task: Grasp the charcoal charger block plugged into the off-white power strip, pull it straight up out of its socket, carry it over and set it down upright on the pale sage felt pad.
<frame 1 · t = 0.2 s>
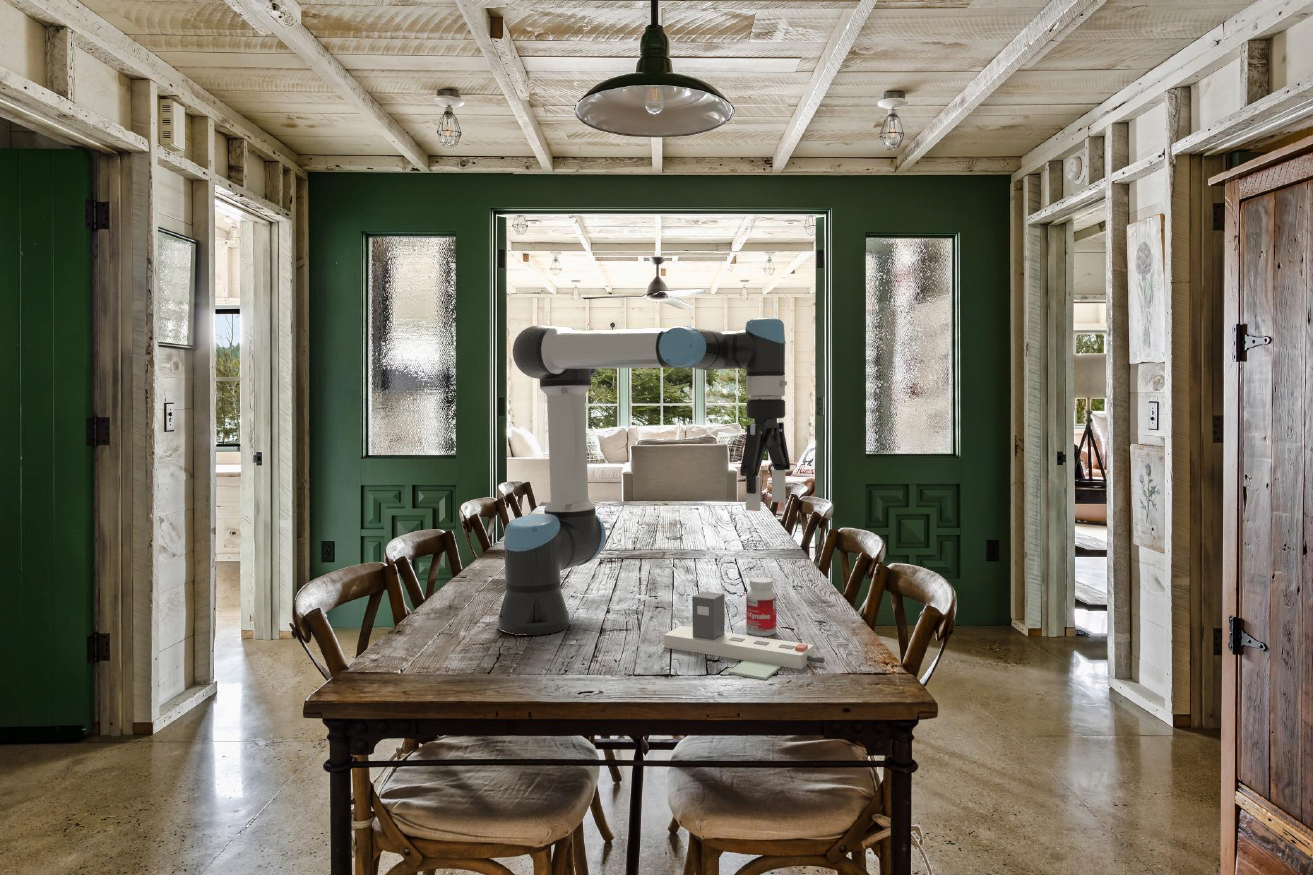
hand: (766, 506, 161), 27 cm above the table, fingers open, 13 cm apart
charger: (708, 635, 159), point 2 cm above the table, touching power strip
pill bottle: (761, 633, 169), on the table
felt pad: (754, 670, 146), on the table
power strip: (737, 652, 156), on the table
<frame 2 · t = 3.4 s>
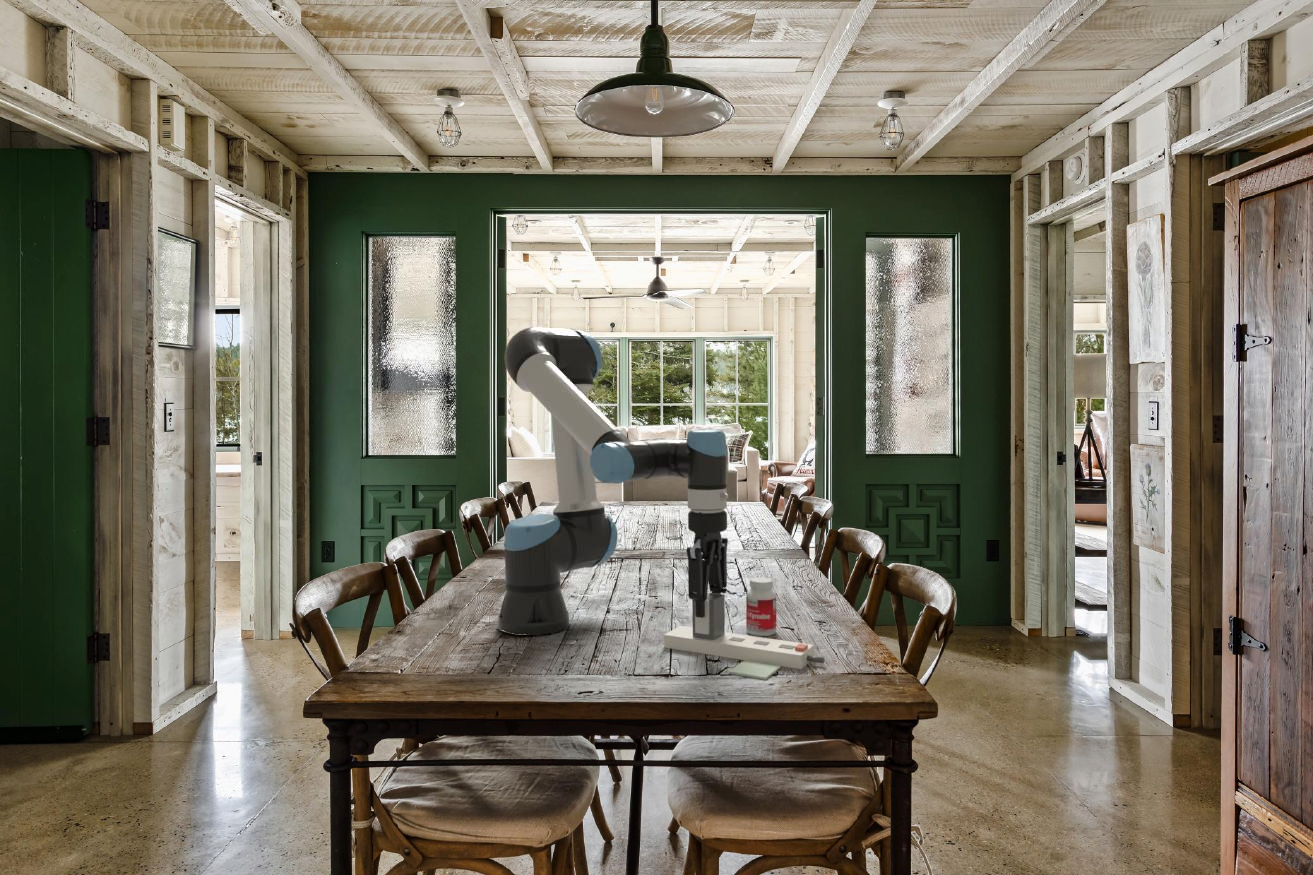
hand: (708, 629, 159), 4 cm above the table, fingers closed on charger, 5 cm apart
charger: (708, 637, 159), point 2 cm above the table, touching gripper, power strip
everything else where it was.
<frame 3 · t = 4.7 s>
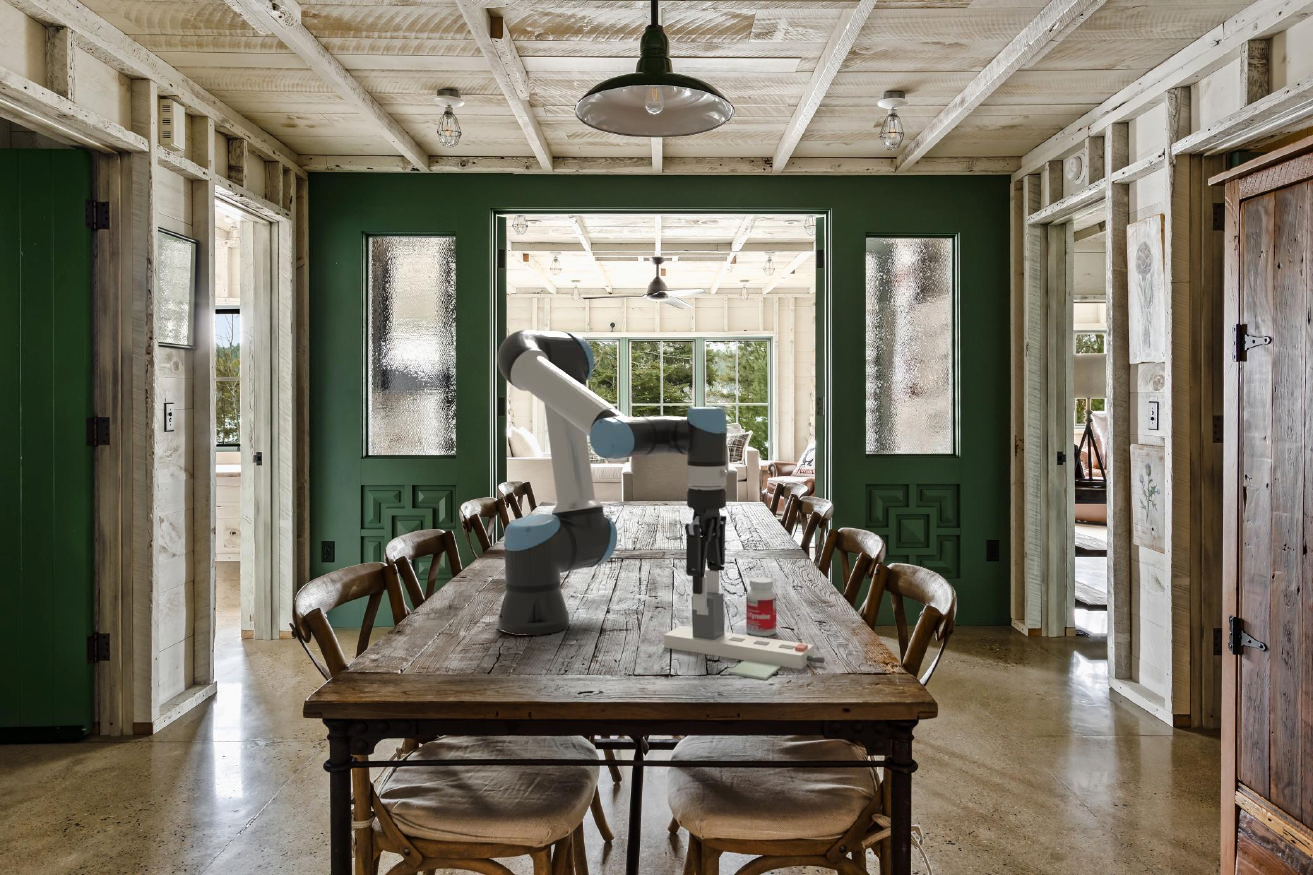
hand: (705, 606, 159), 8 cm above the table, fingers closed on charger, 5 cm apart
charger: (708, 635, 159), point 2 cm above the table, touching gripper, power strip
everything else where it was.
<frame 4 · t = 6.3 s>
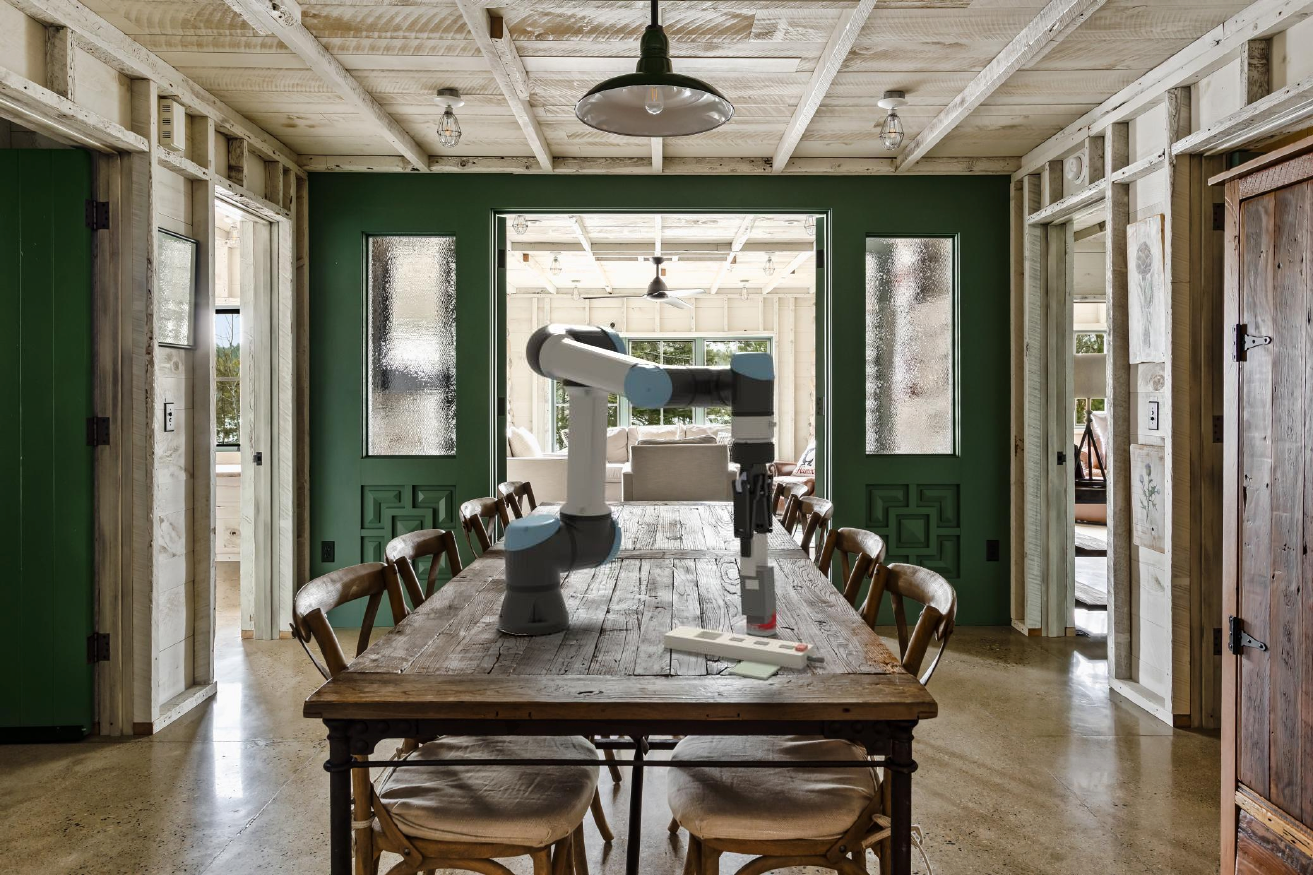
hand: (754, 572, 145), 18 cm above the table, fingers closed on charger, 5 cm apart
charger: (759, 613, 144), point 11 cm above the table, touching gripper
everything else where it was.
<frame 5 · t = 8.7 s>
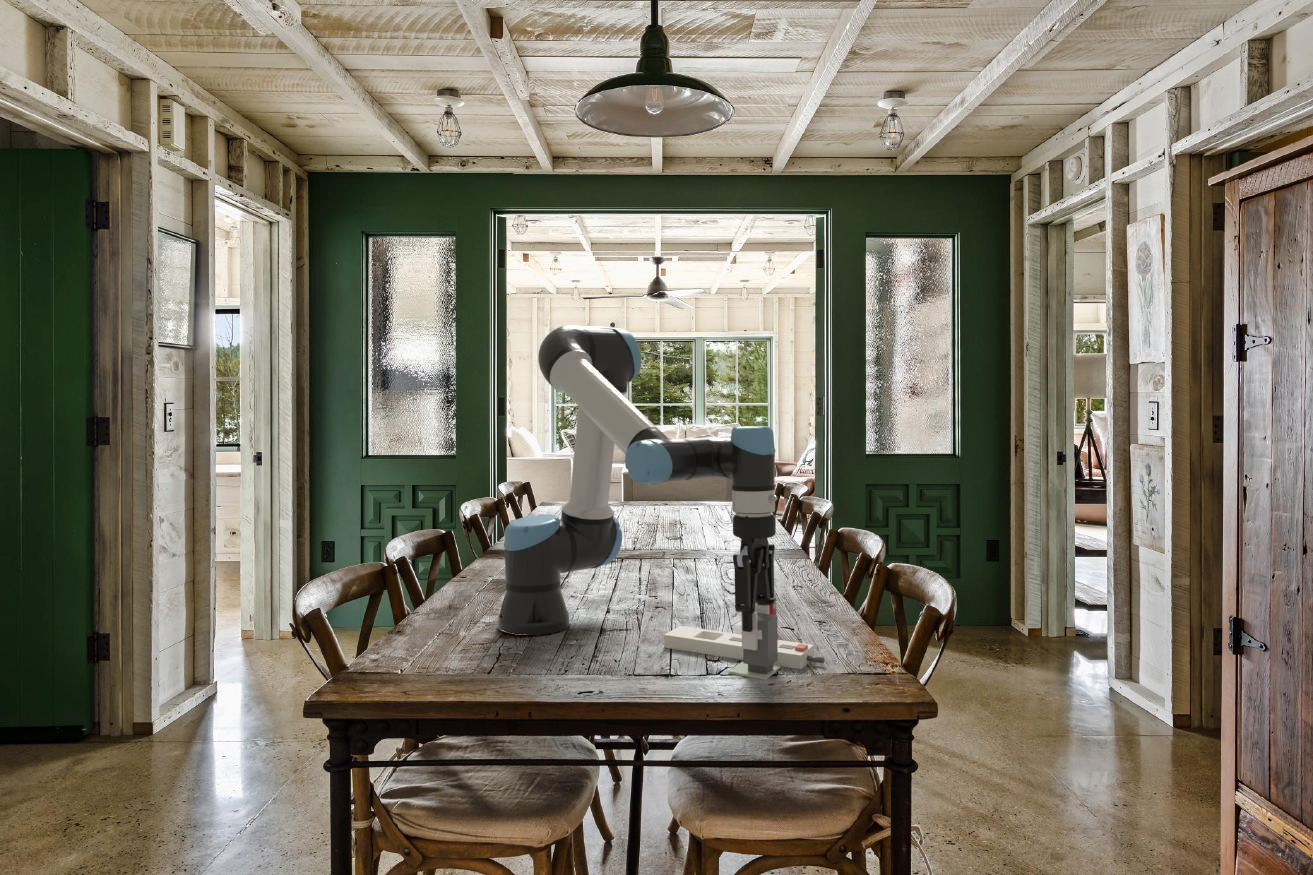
hand: (756, 644, 145), 5 cm above the table, fingers closed on charger, 5 cm apart
charger: (760, 661, 145), point 2 cm above the table, touching felt pad, gripper
everything else where it was.
when the fingers open (5 cm above the table, at t = 9.4 s): charger stays where it is, resting on felt pad.
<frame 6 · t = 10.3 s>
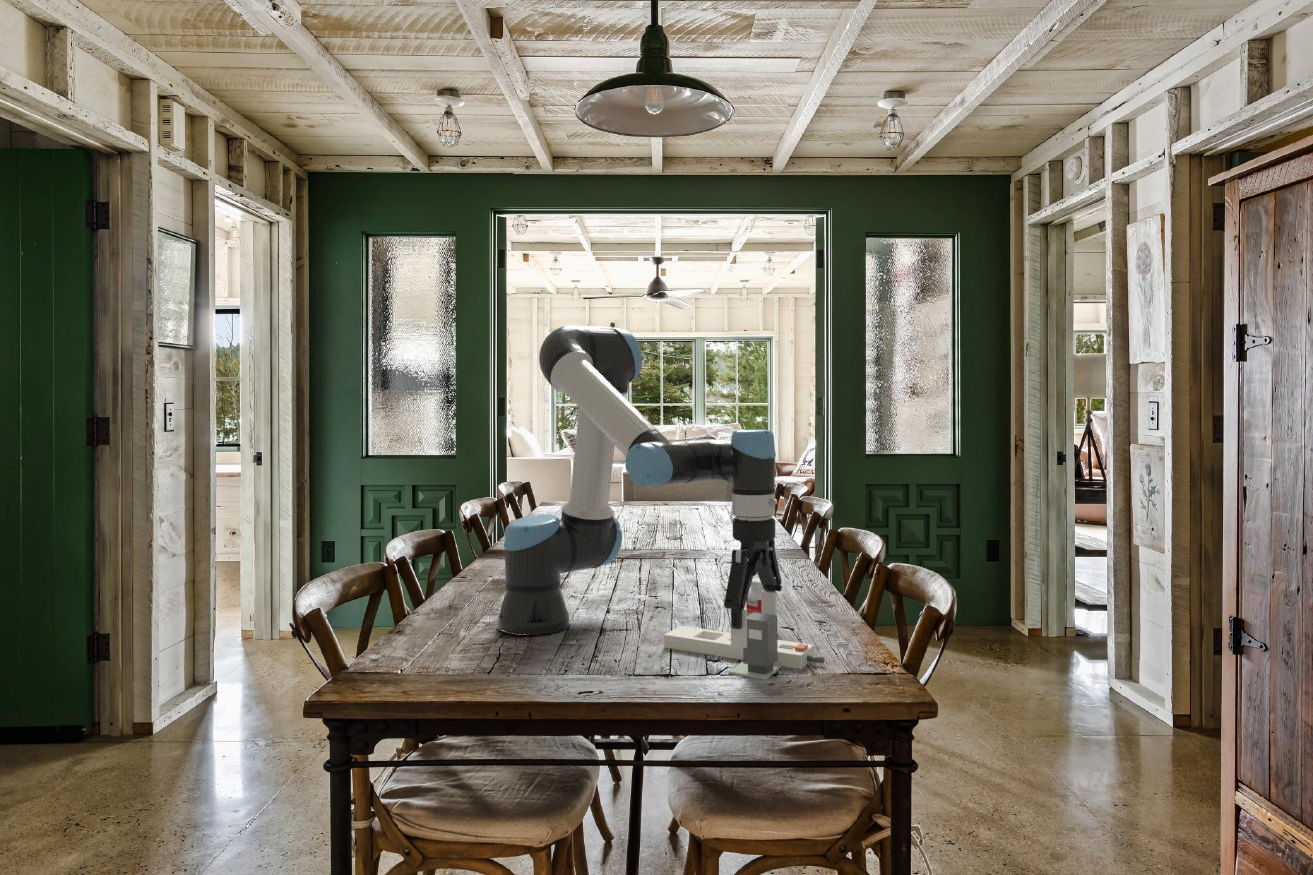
hand: (754, 636, 145), 6 cm above the table, fingers open, 13 cm apart
charger: (760, 661, 145), point 2 cm above the table, touching felt pad
everything else where it was.
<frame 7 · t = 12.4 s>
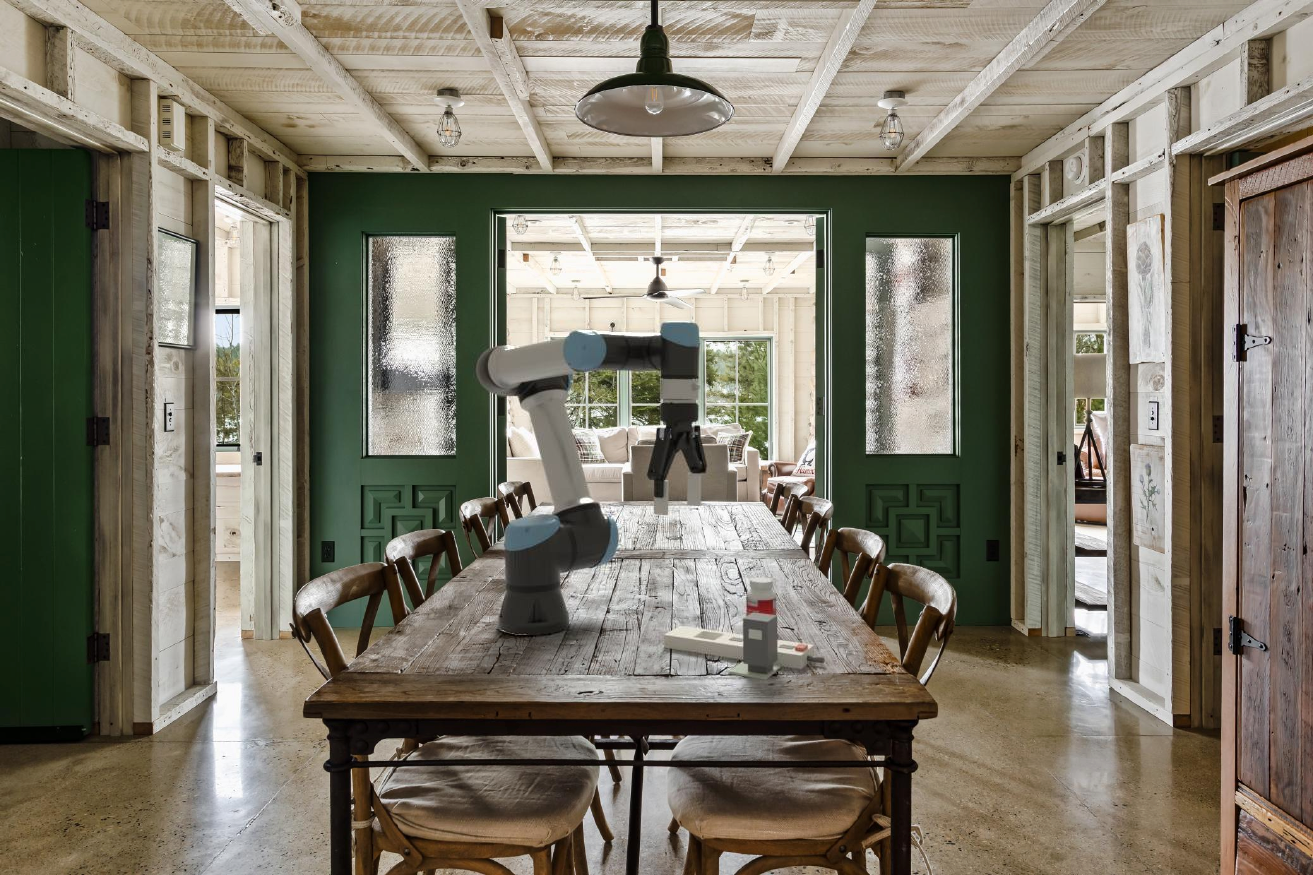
hand: (678, 509, 161), 27 cm above the table, fingers open, 13 cm apart
nothing on the table moved.
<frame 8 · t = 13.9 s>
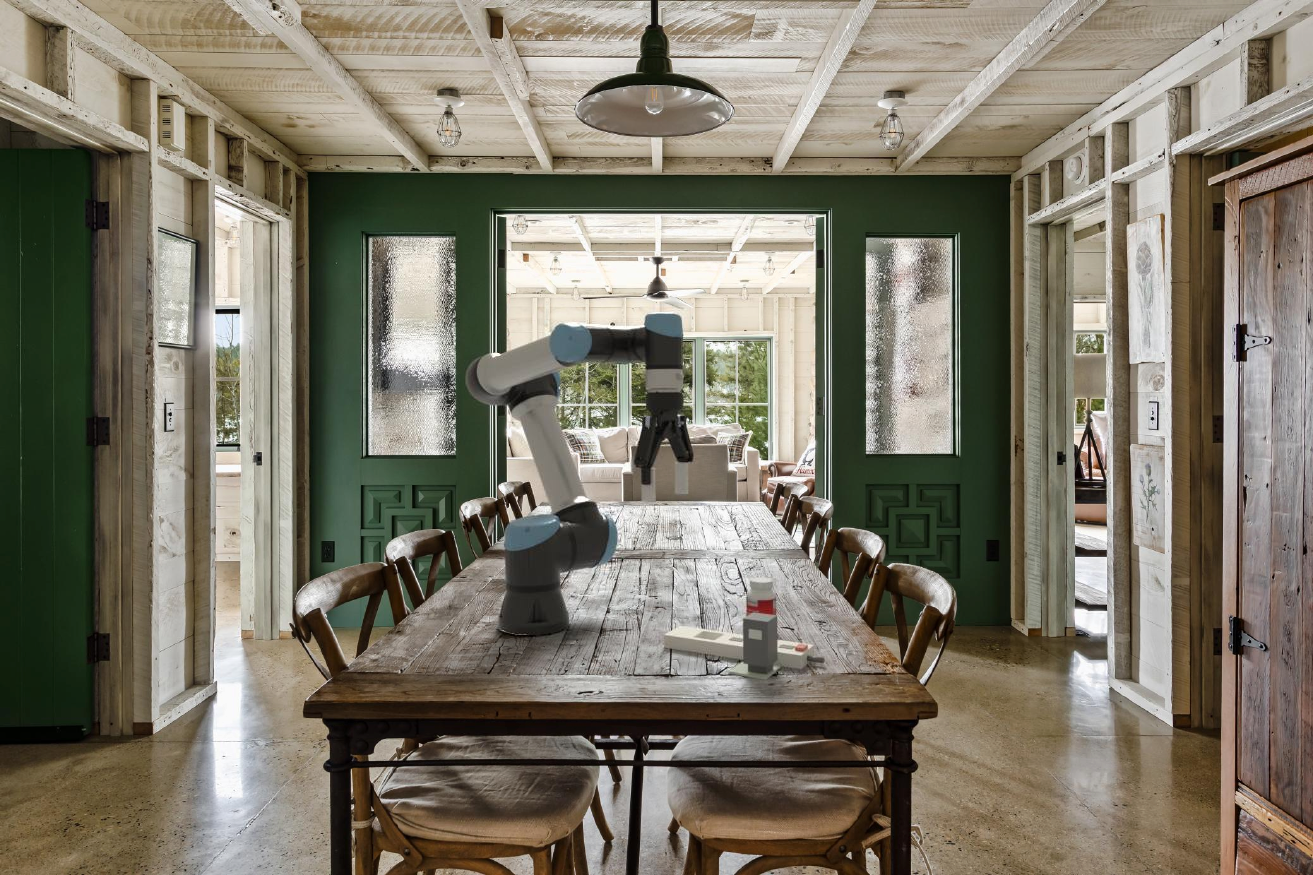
hand: (665, 497, 164), 29 cm above the table, fingers open, 13 cm apart
nothing on the table moved.
at the end: charger inside the target area on the felt pad (1.2 cm from its centre), point 1.9 cm above the felt pad's base; charger tilted 0°; charger touching felt pad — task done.
